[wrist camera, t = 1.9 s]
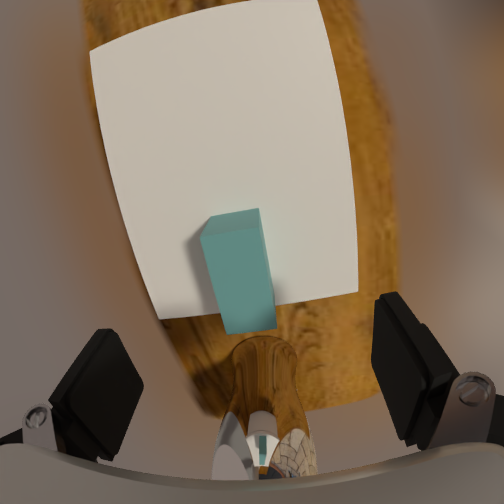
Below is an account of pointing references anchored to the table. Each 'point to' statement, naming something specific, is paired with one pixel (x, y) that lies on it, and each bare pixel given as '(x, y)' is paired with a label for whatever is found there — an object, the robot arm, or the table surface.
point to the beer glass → (264, 417)
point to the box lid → (231, 160)
